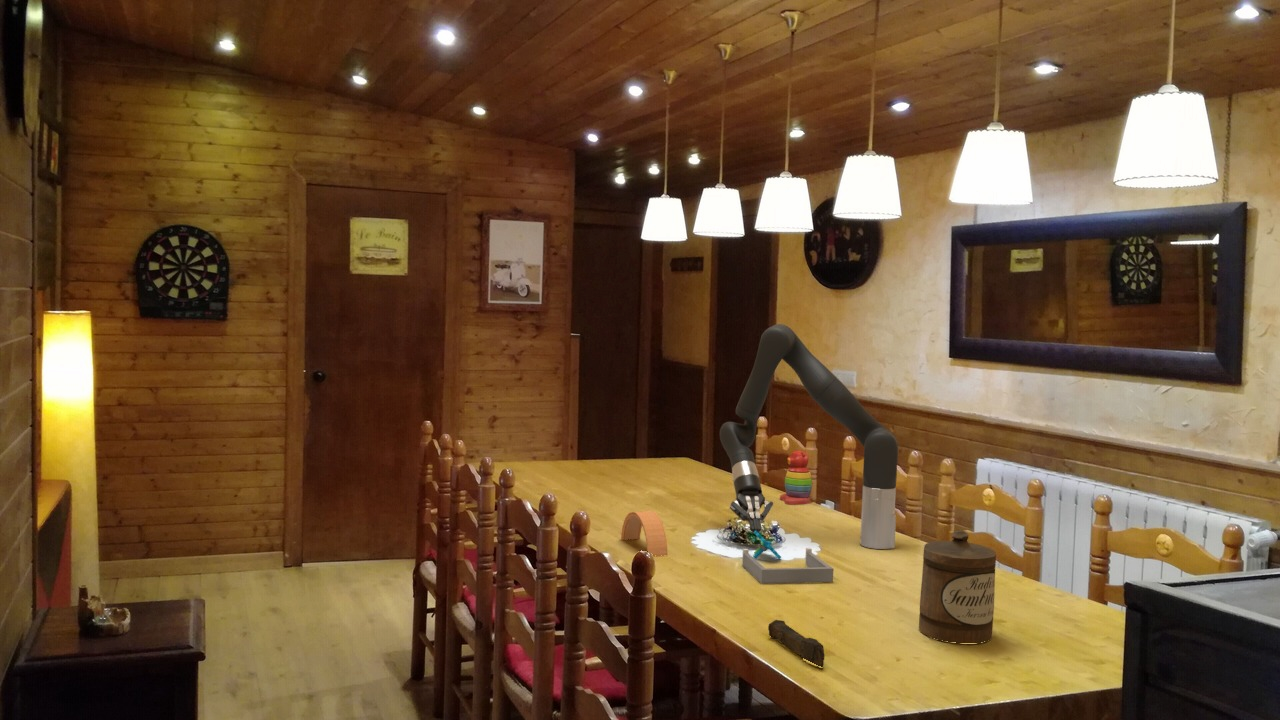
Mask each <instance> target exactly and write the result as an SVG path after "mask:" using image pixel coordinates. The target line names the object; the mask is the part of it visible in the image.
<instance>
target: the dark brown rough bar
mask: <svg viewBox="0 0 1280 720" xmlns="http://www.w3.org/2000/svg"><path fill="white" fill-rule="evenodd" d="M767 630H768V635H769V637H770V636H771V637H773V638H772V639H773V640H774V639H776V640H777V641H779V642H780V643H782V644H783V645H784V646H786V647H788V648H789V649H790V648H791V649H790V650H792V651H793V650H794V651H793V652H795V653H796V654H798V655H799V656H800V655H801V656H800V657H801V658H802V657H803V658H804V659H806V660H808V661H810V662H812V663H814V664H816V665H818V666H821V667H823V668H824V665H825V664H824V663H825V662H824V660H825V657H826V656H825V649H824V645H823V644H822V643H821V642H819V640H818V639H816V638H812V637H805V636H803V635H802V634H800V633H799V632H797V631H796V630H795V629H793V628H792V627H790V626H789V625H787V623H786V622H785V621H784V620H781V619H780V620H779V619H775V620H773V621H772V622H770V623H769V624H768V626H767ZM771 637H770V638H771Z"/></svg>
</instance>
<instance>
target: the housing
mask: <svg viewBox="0 0 1280 720" xmlns="http://www.w3.org/2000/svg"><path fill="white" fill-rule="evenodd" d="M812 550H813V549H812V548H811V547H806V548H805V557H804V558H805V561H804V562H805V563H804V565H805V566H806V565H807V567H773V568H772V567H771V568H770V567H764V566H763V565H762V564H761V563H760V562H759V561H758V560H757V559H755V558H754V557H753V556H752V555H751V554H750V552H749V551H750V550H749V549H748V548H742V560H741V561H742V563H741V566H742V568H744V570H746V571H747V572H748V573H749V574H750V575H752V576H753V577H754V579H755V580H757V581H758V582H759V583H760V584H762V585H763V584H764V585H765V584H766V585H770V584H771V585H774V584H777V585H778V584H779V583H781V584H806V583H805V582H812V583H811V584H814V583H813V582H831V583H833V582H834V567H832V566H831V565H830V564H828V563H827V562H825V560H823V559H822V558H820V557H818V556H817V555H816V554H815V553H813V552H812Z"/></svg>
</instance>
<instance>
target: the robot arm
mask: <svg viewBox="0 0 1280 720" xmlns="http://www.w3.org/2000/svg"><path fill="white" fill-rule="evenodd" d="M782 360H783V361H784V362H785V363H786V364H787V365H788V366H789V367H790V368H791V369H792V370H793V371H794V372H795V374H796V375H797V376H798V378H799V380H800V382H801V383H802V385H803V388H804V389H805V391H806V392H807V393H808V395H809V396H810V398H812V399H813V401H814V402H815V403H816V404H818V406H819V407H821V409H822V410H823V411H825V412H826V413H827V415H829V416H831V418H833V419H835V420H836V421H837V422H839V423H840V424H841V425H842V426H844V427H845V428H846V429H848V430H849V431H850V432H851V433H852V434H853V435H854V437H855V438H856V439H857V441H858V442H859V443H860V444H861V445H862V447H864V448H863V468H862V469H863V470H862V472H863V473H862V493H861V494H862V496H861V497H862V499H861V515H860V516H861V518H860V519H861V520H860V538H859V540H860V541H859V543H860V546H862V547H865V548H869V549H876V550H889V549H894V550H895V547H896V546H895V544H896V524H897V515H896V514H895V513H896V511H895V510H896V495H897V494H896V493H897V476H898V475H897V474H898V454H899V446H898V445H899V444H898V439H897V437H896V435H895V434H893V432H891V431H890V430H889V429H887V428H886V427H885V426H884V425H882V424H881V423H880V422H879V421H878V420H877V419H875V417H873V416H872V415H871V414H870V413H869V412H867V410H866V409H865V408H864V406H862V404H861V403H860V402H859V400H858V399H857V398H856V396H855V395H854V394H853V393H852V392H851V391H850V390H849V389H848V387H847V386H846V385H845V384H843V382H842V381H841V380H840V379H839V378H838V377H837V376H836V375H835V374H834V373H833V372H832V371H831V370H829V369H828V367H827V366H825V364H823V363H822V362H821V361H820V360H819V359H818V358H817V357H816V356H814V354H812V352H811V351H810V350H809V348H807V346H806V345H805V344H804V343H803V341H802V340H801V339H800V338H799V337H798V335H797V334H796V332H795V331H794V330H793V329H792V328H791V327H789V326H788V325H785V324H782V323H779V324H778V323H777V324H774V325H772V326H770V327H768V328H766V329H765V330H764V331H763V332H762V334H761V337H760V341H759V344H758V349H757V353H756V358H755V360H754V364H753V368H752V370H751V372H750V374H749V377H748V380H747V381H746V384H745V387H744V389H743V391H742V393H741V395H740V398H739V400H738V402H737V405H736V408H735V415H737V416H738V418H740V419H741V420H744V423H738V422H735V421H726V422H724V423H723V424H722V425H721V426H720V429H719V440H720V443H721V446H722V448H723V449H724V451H725V452H726V455H727V456H728V458H729V461H730V465H731V473H732V474H731V476H732V482H733V486H734V492H735V495H736V496H735V499H734V500H733V501H731V502H730V506H729V509H730V510H731V511H732V512H733V513H734V514H735V515H736V516H737V517H738V518H739V519H740V520H742V521H743V522H744V521H746V522H748V523H749V529H750V532H752V533H753V534H754V535H755V533H754V532H755V531H757V532H758V533H759V534H760V532H761V530H762V523H761V522H763V521H764V520H765V518H766V517H767V515H768V514H769V513H770V511H771V510H772V508H773V505H774V502H773V501H768V500H766V498H765V496H764V494H763V490H762V485H761V482H760V481H761V480H760V475H759V472H758V471H759V470H758V468H757V465H756V461H755V457H754V456H755V455H754V453H753V451H752V449H751V448H750V447H751V446H752V445H753V443H754V441H755V439H756V431H757V425H758V420H759V416H760V413H761V412H762V409H763V406H764V404H765V402H766V398H767V396H768V392H769V390H770V389H769V388H770V385H771V380H772V379H773V375H774V374H775V371H776V369H777V367H778V366H779V364H780V363H781V361H782ZM762 506H763V511H762V512H761V511H760V510H761V508H762ZM760 512H761V513H760Z"/></svg>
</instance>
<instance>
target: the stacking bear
mask: <svg viewBox="0 0 1280 720" xmlns="http://www.w3.org/2000/svg"><path fill="white" fill-rule="evenodd" d="M809 461H810V460H809V455H808V453H806V452H805V451H802V450H798V449H796V450H795V451H793V452H791V454H790V455H789V456H788V457H787V461H786V462H787V464H788V466H789V467H788V468H787V470H786V471H787V472H786V473H785V477H784V488H785V493H783V494H780V496H779V500H780V501H784V504H786V505H791V506H792V505H793V506H794V505H795V506H796V505H800V506H801V505H808V504H810V503H811V502H812V500H811V497H810V496H811V492H812V489H813V488H812V487H813V480H812V473H811V471H810V469H809V468H808V467H807V466H808V465H809Z"/></svg>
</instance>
